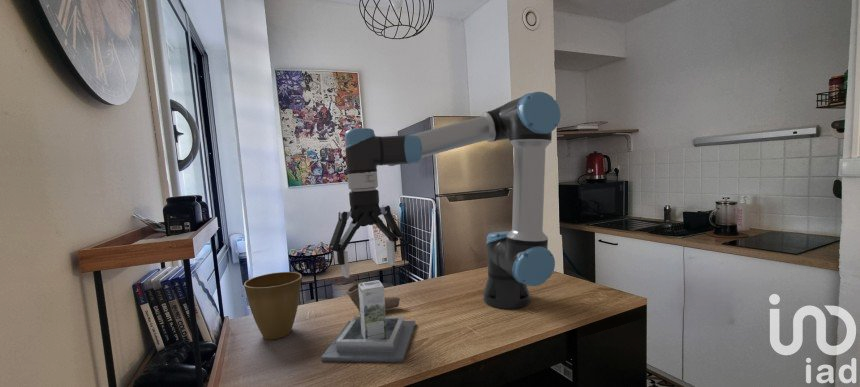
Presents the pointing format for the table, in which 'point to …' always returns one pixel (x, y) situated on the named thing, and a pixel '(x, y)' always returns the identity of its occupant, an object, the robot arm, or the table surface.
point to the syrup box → (372, 310)
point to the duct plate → (371, 343)
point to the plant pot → (274, 302)
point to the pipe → (354, 295)
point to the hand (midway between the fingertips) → (369, 270)
